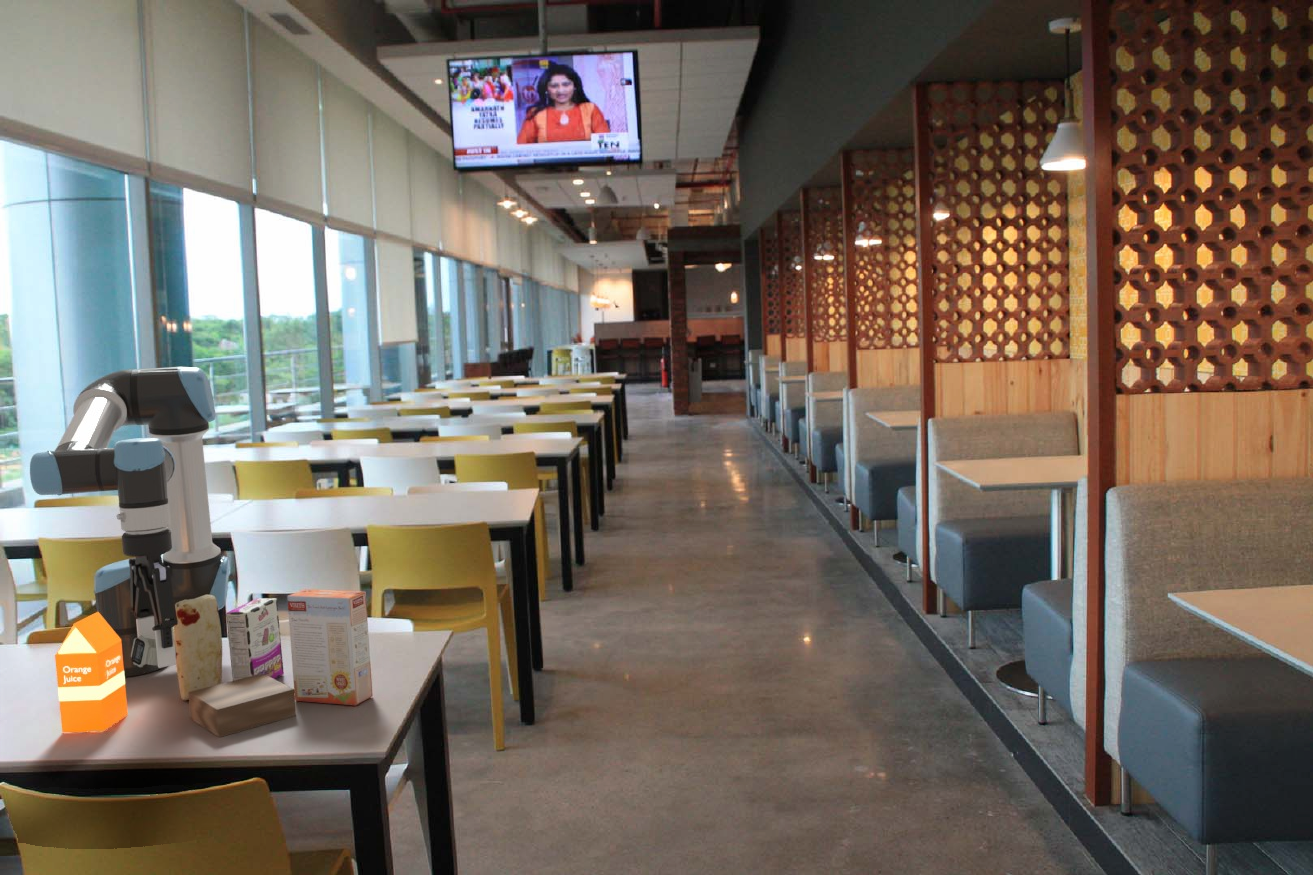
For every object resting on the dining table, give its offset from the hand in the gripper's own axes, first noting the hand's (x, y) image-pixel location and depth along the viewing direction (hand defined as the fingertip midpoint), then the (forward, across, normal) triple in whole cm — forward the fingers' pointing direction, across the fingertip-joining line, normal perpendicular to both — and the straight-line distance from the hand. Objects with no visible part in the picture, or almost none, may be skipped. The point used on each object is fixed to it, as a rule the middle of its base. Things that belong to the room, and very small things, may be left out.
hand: (157, 659), depth 180 cm
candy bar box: (+16, -21, +25) cm, 36 cm away
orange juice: (+16, -22, -5) cm, 27 cm away
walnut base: (+15, -4, +15) cm, 22 cm away
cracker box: (+16, 0, +31) cm, 35 cm away
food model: (+16, -22, +14) cm, 30 cm away
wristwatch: (0, 0, 0) cm, 1 cm away
